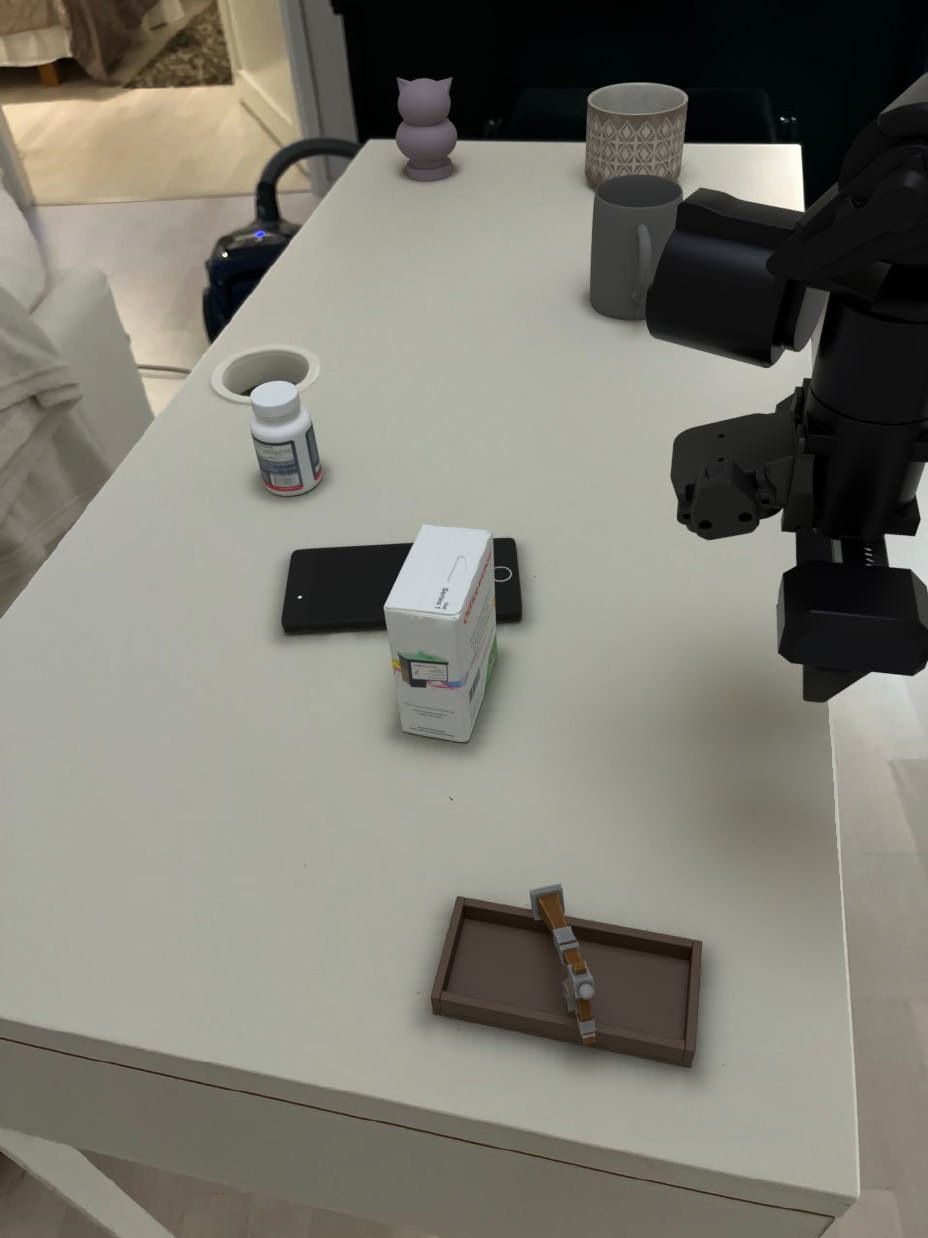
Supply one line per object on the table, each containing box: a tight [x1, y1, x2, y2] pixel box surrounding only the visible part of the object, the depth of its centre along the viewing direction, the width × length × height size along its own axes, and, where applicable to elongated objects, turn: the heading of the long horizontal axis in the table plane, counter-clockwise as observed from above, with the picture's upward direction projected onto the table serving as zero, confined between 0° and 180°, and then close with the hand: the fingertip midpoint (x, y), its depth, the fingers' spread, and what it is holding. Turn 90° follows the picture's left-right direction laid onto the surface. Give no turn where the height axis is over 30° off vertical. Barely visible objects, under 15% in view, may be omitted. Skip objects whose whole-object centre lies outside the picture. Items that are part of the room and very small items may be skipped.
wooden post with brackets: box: [528, 882, 596, 1044], centre depth 50 cm, size 2×8×4 cm, turn 12°
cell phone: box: [280, 537, 523, 634], centre depth 76 cm, size 9×18×1 cm, turn 91°
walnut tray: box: [430, 895, 703, 1069], centre depth 52 cm, size 14×6×2 cm, turn 77°
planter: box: [584, 82, 689, 187], centre depth 129 cm, size 13×13×10 cm
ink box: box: [384, 523, 498, 743], centre depth 65 cm, size 8×5×12 cm, turn 165°
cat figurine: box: [395, 76, 458, 182], centre depth 134 cm, size 8×8×12 cm
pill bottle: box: [249, 380, 323, 497], centre depth 84 cm, size 5×5×9 cm
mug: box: [589, 174, 684, 321], centre depth 103 cm, size 14×9×12 cm
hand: (809, 637), depth 54 cm, fingers open, 9 cm apart
